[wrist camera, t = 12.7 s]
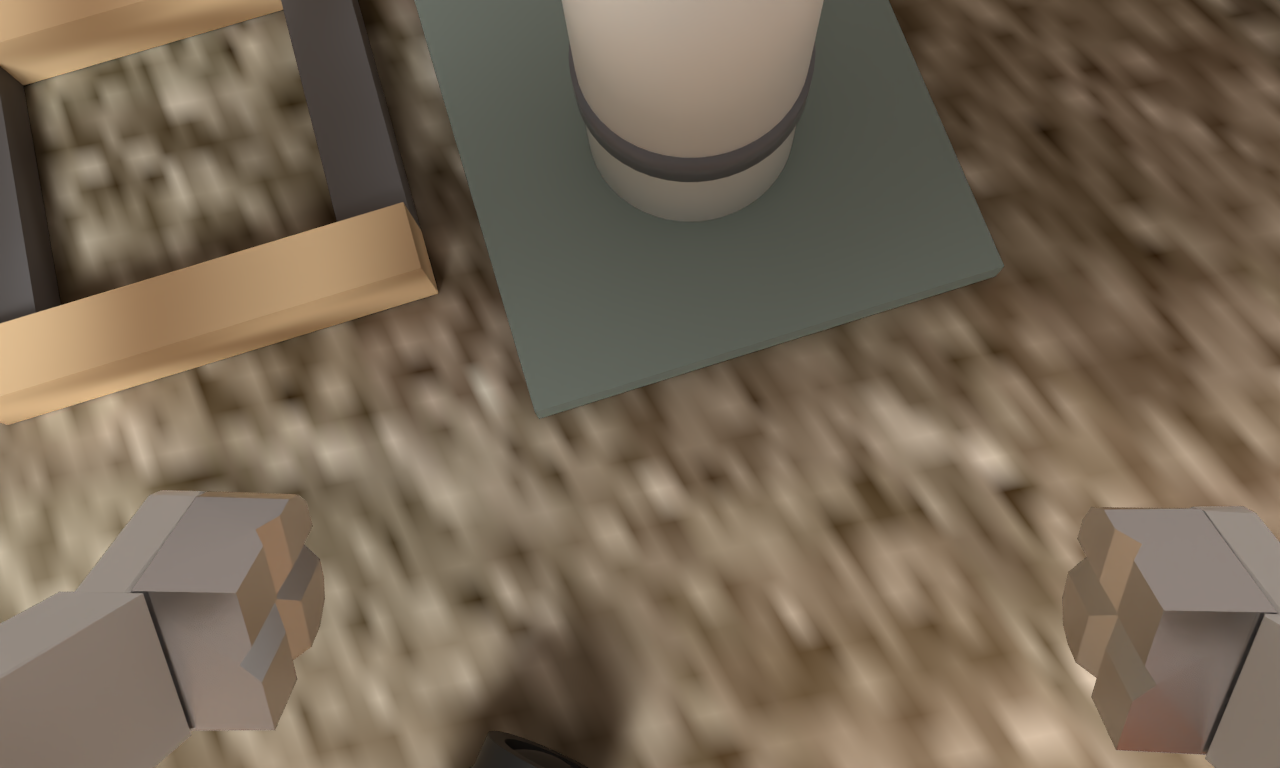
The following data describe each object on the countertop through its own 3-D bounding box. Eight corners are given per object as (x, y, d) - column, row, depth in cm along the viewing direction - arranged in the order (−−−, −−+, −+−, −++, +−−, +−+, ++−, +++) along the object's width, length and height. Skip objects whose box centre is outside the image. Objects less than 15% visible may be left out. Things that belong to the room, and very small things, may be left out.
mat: (830, -106, 24) (834, -124, 23) (995, 276, 21) (1004, 266, 20) (420, 15, 23) (414, -1, 23) (539, 418, 21) (535, 412, 20)
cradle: (340, -64, 24) (318, -110, 22) (438, 293, 21) (421, 268, 20) (-49, 49, 23) (-98, 10, 22) (7, 424, 21) (-42, 408, 20)
